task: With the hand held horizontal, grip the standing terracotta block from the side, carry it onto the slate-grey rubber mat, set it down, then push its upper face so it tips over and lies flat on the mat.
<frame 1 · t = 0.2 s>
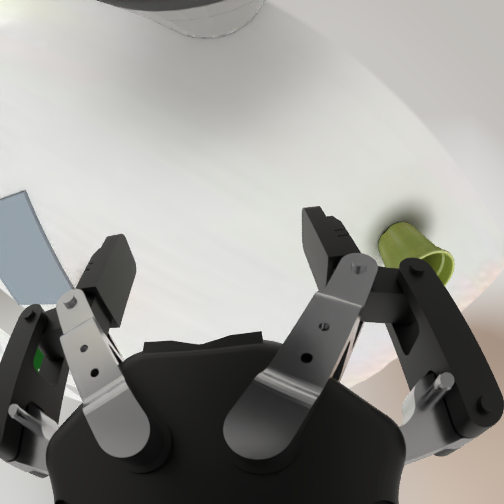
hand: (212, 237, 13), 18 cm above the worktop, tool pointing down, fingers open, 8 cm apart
mat: (19, 257, 33), on the worktop
plant pot: (395, 238, 37), on the worktop
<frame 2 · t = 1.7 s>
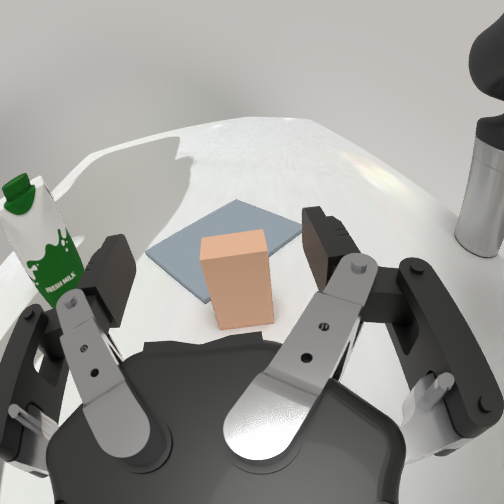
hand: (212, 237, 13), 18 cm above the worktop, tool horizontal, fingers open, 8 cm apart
terracotta block: (245, 315, 33), on the worktop
milk carton: (70, 291, 39), on the worktop
mat: (224, 241, 45), on the worktop
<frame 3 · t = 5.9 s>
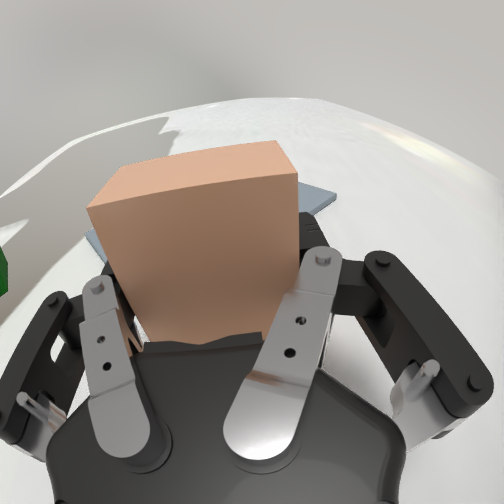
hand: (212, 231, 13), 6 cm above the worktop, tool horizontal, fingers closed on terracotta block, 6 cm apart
terracotta block: (234, 352, 15), on the worktop, touching gripper
mat: (204, 216, 27), on the worktop
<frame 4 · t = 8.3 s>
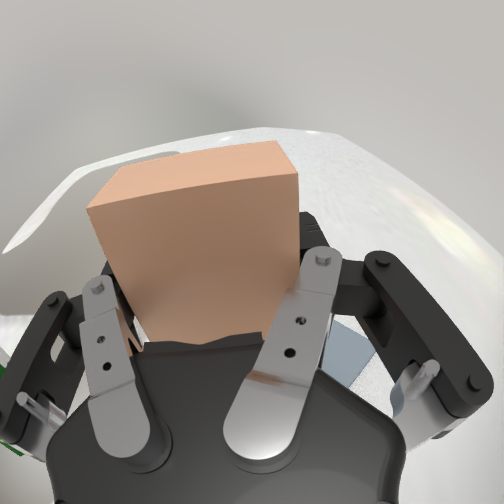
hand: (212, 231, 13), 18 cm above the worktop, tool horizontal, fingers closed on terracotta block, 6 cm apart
terracotta block: (234, 353, 15), point 12 cm above the worktop, touching gripper
mat: (252, 373, 26), on the worktop
when the fingers open (7 cm above the worktop, at t = 10.9 s): terracotta block stays where it is, resting on mat.
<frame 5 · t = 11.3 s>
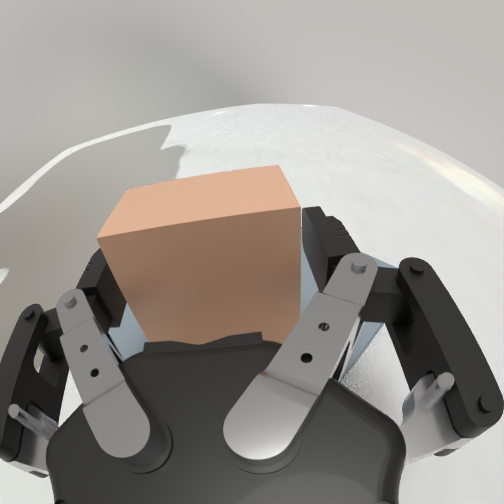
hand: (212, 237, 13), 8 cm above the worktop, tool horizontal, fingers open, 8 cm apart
terracotta block: (237, 363, 15), point 1 cm above the worktop, touching mat
mat: (239, 313, 19), on the worktop
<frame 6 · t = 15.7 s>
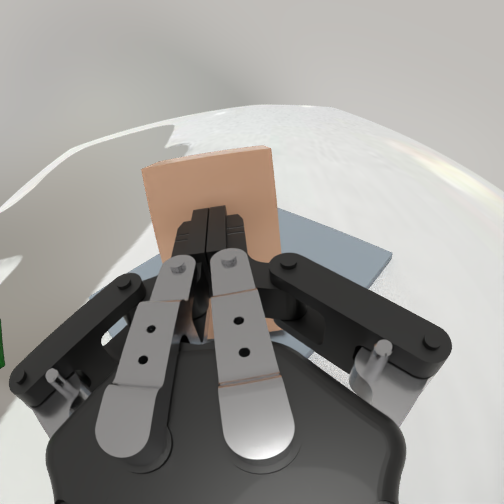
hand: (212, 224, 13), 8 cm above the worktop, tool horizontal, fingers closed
terracotta block: (235, 318, 18), point 1 cm above the worktop, tilted 13°, touching gripper, mat
mat: (238, 283, 22), on the worktop
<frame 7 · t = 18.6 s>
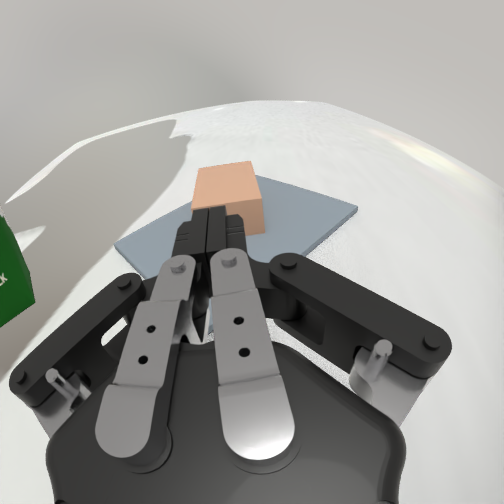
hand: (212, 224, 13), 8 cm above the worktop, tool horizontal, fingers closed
terracotta block: (229, 221, 25), point 2 cm above the worktop, tilted 90°, touching mat
milk carton: (11, 302, 23), on the worktop
mat: (235, 228, 28), on the worktop
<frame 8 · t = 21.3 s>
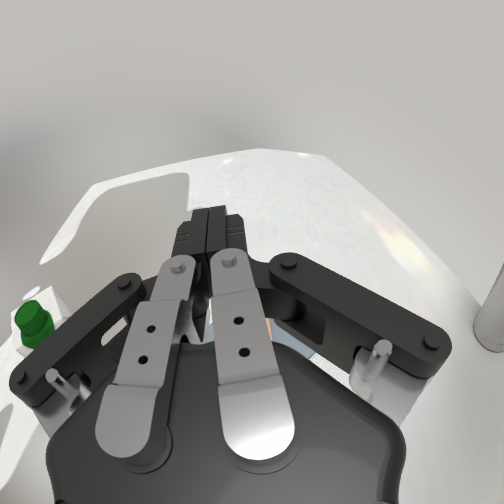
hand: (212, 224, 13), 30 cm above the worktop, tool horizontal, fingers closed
milk carton: (98, 390, 37), on the worktop
mat: (254, 345, 43), on the worktop
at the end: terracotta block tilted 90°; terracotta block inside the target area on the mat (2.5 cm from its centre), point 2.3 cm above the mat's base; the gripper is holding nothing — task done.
